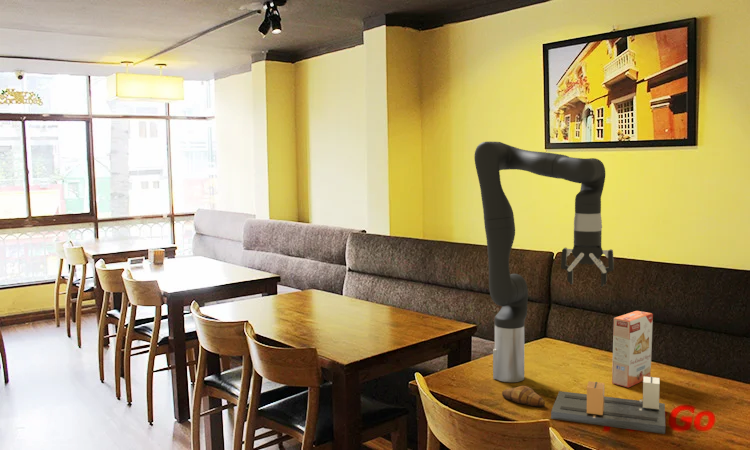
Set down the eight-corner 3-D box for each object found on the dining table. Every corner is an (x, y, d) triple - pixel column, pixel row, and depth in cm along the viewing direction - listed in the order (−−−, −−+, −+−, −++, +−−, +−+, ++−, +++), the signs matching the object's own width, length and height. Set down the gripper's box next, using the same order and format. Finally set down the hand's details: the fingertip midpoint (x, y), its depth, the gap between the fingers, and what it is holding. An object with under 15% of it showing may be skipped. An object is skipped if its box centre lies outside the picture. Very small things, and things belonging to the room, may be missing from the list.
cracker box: (629, 389, 194) (630, 320, 192) (611, 383, 199) (612, 317, 197) (652, 377, 203) (653, 312, 201) (634, 373, 208) (635, 309, 206)
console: (550, 419, 173) (550, 411, 173) (559, 396, 189) (559, 389, 189) (665, 435, 162) (665, 426, 162) (664, 409, 178) (664, 402, 178)
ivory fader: (642, 407, 174) (643, 381, 173) (643, 400, 178) (643, 375, 178) (658, 409, 172) (659, 383, 172) (658, 402, 177) (659, 377, 176)
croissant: (550, 404, 184) (550, 387, 184) (538, 411, 179) (538, 394, 179) (509, 393, 193) (509, 377, 193) (496, 400, 188) (496, 383, 188)
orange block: (586, 413, 171) (586, 386, 170) (588, 406, 176) (588, 380, 175) (602, 415, 169) (602, 388, 169) (604, 408, 174) (604, 382, 173)
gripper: (560, 229, 184) (559, 285, 185) (613, 230, 178) (612, 288, 180) (563, 226, 191) (563, 281, 192) (615, 227, 185) (614, 283, 187)
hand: (586, 284), depth 186 cm, fingers open, 8 cm apart
